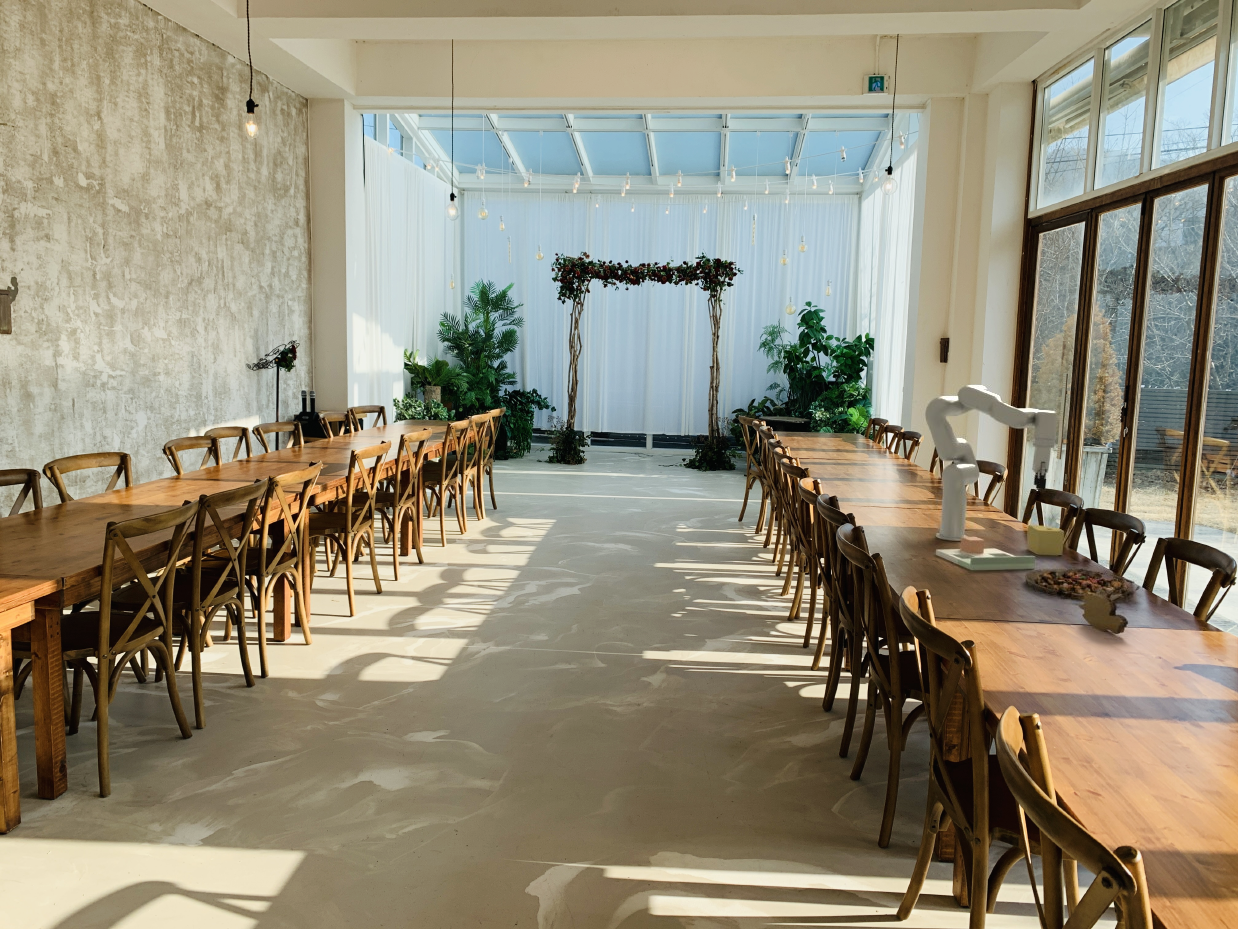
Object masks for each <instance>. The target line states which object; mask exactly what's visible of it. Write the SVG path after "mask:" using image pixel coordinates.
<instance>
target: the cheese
mask: <svg viewBox="0 0 1238 929" xmlns="http://www.w3.org/2000/svg"><path fill="white" fill-rule="evenodd" d="M1026 532H1027V533H1026V541H1027V550H1028V551H1030V552H1032V553H1033V554H1035V555H1037V556H1038V555H1039V556H1040V555H1041V556H1058V555H1063V551H1064V549H1063V548H1064V538H1065V531H1064V530H1062V528H1061V529H1060V528H1058V527H1052V526H1051V527H1050V526H1045V525H1036V524H1029V525H1028V527H1027V531H1026Z"/></svg>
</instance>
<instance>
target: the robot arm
mask: <svg viewBox="0 0 1238 929" xmlns="http://www.w3.org/2000/svg"><path fill="white" fill-rule="evenodd" d="M973 410H976V411H978V412H981V413H982V414H986V415H987V416H990V418H992V419H994V420H995V421H996V422H998V423H1001V424H1003V425H1006V426H1009V427H1010V428H1013V429H1029V428H1032V429H1033V438H1032V447H1035V448H1034V454H1033V461H1032V471H1033V473H1034V478H1033V485H1034V486H1035V489H1036V490H1046V486H1047V474H1048V473H1049V467H1050V460H1051V450H1052V449H1055V445H1056V444H1055V443H1056V434H1057V424H1058V413H1057V412H1056V411H1054V410H1044V409H1043V410H1040V409H1036V408H1017V407H1015V406H1011V405H1009V404H1007V403H1004V402H1003V399H1002V398H1001V396H1000V395H998V394H995V393H993V392H990V391H989V389H988V388H986V386H984V385H981V384H980V385H979V384H969V385H968V384H967V385H964V386H962V387H961V388H960V389H959V390H958V392H957V394H955V395H945V396H944V395H941V396H938V397H934V398H933V399H931V401H930V402H929V403H928V404H927V406H926V409H925V413H924V415H925V421H926V424H927V427H928V429H929V431H930V434H931V437H932V440H933V441H932V442H933V444H934V446H935V449H936V452H937V455H938V457H939V459H940V460H941V461H944V462H953V463H951V464H948V465H947V466H946V467H944V469H943V470H942V472H941V480H942V481H941V484H942V501H941V516H940V517H941V519H940V525H939V526H937V529H938V530H939V532H937V533H935V537H936V538H938V539H940V540H944V541H950V542H953V541H954V542H961V537H969V536H968V535H966V534H965V530H966V519H967V518H966V517H967V516H966V514H967V505H968V504H967V501H968V493H967V489H966V488H967V487H966V486H968V485H973V484H975V483H976V482H977V481H978V480H979V477H980V469H979V465H978V463H977V462H978V461H977V459H976V456H975V453H974V451H973V447H972V445H971V444H970V443H969V442H968V440H966V439H964V438H962V437H961V438H960V437H956V436H955V432H954V431H953V427H952V426H951V424H950V422H949V421H948V419H947V417H957V416H962V415H963V414H966V413H969V412H970V411H973Z"/></svg>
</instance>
